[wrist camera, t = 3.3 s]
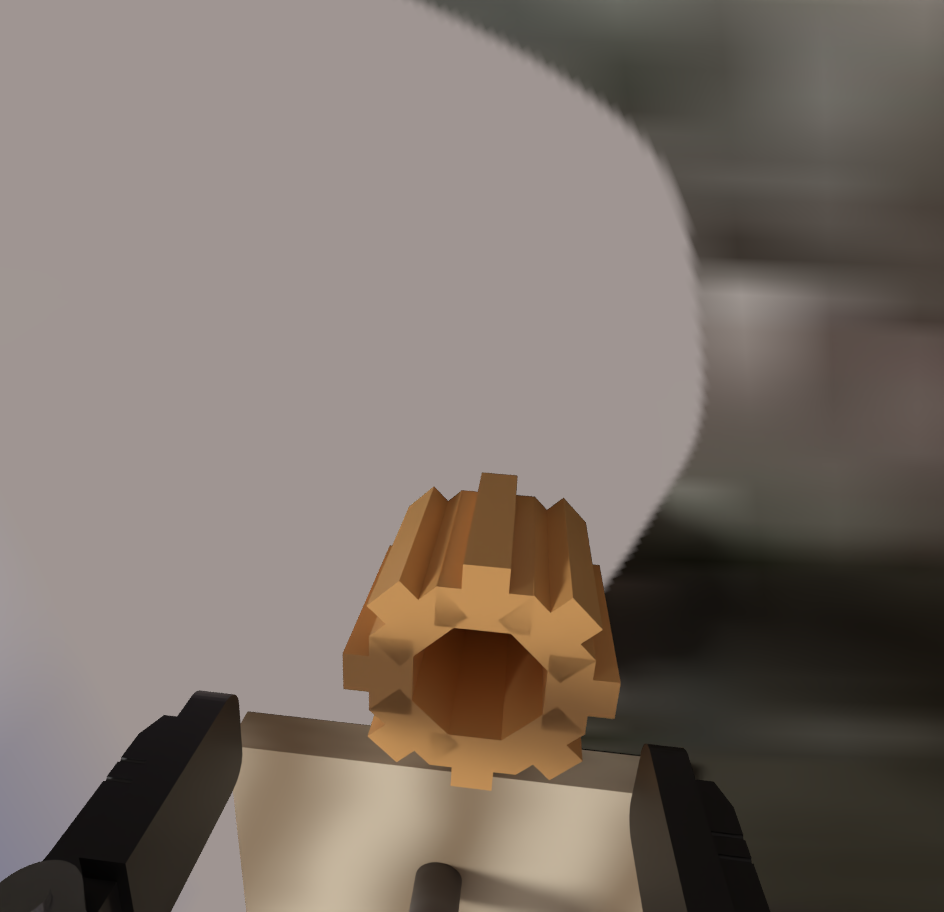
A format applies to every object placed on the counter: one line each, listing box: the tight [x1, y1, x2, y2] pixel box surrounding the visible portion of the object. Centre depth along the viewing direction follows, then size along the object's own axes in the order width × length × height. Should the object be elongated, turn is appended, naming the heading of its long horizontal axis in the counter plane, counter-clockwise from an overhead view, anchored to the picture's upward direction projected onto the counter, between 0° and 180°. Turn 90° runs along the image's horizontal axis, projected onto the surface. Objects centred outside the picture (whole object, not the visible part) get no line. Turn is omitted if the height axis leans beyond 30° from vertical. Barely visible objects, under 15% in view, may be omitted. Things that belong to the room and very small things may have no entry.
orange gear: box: [343, 473, 621, 791], centre depth 17 cm, size 6×6×5 cm
